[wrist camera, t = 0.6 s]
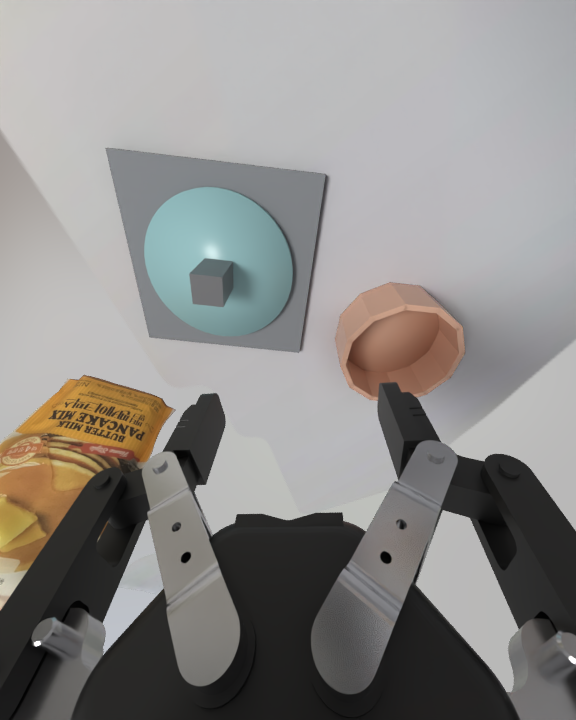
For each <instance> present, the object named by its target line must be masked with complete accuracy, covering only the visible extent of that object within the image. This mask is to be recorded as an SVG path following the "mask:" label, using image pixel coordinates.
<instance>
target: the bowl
mask: <svg viewBox="0 0 576 720" xmlns="http://www.w3.org/2000/svg"><path fill="white" fill-rule="evenodd" d="M335 341H336V347H337V352H338V357H339V362H340V367H341V369H342V371H343V374H344V376H345V378H346V381H347V383H348V385H349V387H350V388H351V389H353V390H355V391H356V392H358V393H360V394H361V395H363V396H364V397H366V398H368V399H369V400H376V401H378V393H379V384H380V383H387V382H397V384H398V386H399V388H400V390H401V392H410V393H411V394H412V395H414V396H415V397H420V396H423V395H426V394H428V393H429V392H431V391H432V390H434V389H435V388H436V387H438V386H439V385H441V384H442V383H444V382H445V381H446V380H448V379H449V378H451V376H452V375H453V373H454V371H455V369H456V368H457V366H458V364H459V363H460V361H461V359H462V357H463V356H464V354H465V345H464V335H463V327H462V326H461V325H460V324H459V323H458V322H457V320H456V319H455V318H454V317H453V316H452V315H451V314H450V313H449V312H448V311H447V310H446V309H445V308H444V307H443V306H442V305H441V304H440V303H439V302H438V301H437V300H435V299H434V298H433V297H432V296H431V295H430V294H428V293H427V292H426V291H425V290H424V289H423V288H422V287H420V286H418V285H409V284H400V283H391V282H390V283H387V284H385V285H382V286H379V287H377V288H374V289H372V290H369V291H366V292H364V293H361V294H360V295H359V296H358V297H357V298H356V299H355V300H354V301H353V302H352V303H351V304H350V306H349V307H348V308H347V309H346V310H345V311H344V312H343V313H342V314H341V315H340V320H339V324H338V328H337V332H336V337H335Z"/></svg>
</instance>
